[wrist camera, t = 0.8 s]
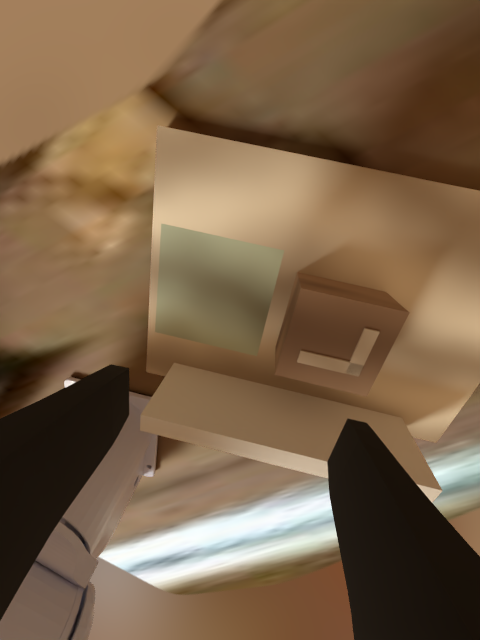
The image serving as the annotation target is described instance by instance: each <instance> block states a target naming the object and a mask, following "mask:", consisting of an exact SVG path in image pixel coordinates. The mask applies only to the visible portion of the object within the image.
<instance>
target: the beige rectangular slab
mask: <svg viewBox="0 0 480 640" xmlns="http://www.w3.org/2000/svg"><path fill="white" fill-rule="evenodd" d="M347 418H348V419H353V420H357V421H361V422H366V423H367V424H368V425H369V426H370V427H371V428H372V429H373V431H374V432H375V433H376V434H377V436H378V437H379V438H380V439H381V441H382V442H383V443H384V444H385V446H386V447H387V448H388V449H389V451H390V452H391V453H392V454H393V456H394V457H395V458H396V459H397V461H398V462H399V463H400V464H401V466H402V467H403V468H404V469H405V471H406V472H407V473H408V474H409V476H410V477H411V478H412V479H413V480H414V482H415V483H416V484H417V485H418V487H419V488H420V489H421V490H422V491H423V493H424V494H425V495H426V496H427V497H428V499H429V500H430V501H431V502H433V501H434V500H435V499H436V498H437V496H438V495H439V494H440V493H441V492H442V489H441V487H440V486H439V484H438V482H437V480H436V478H435V477H434V475H433V473H432V471H431V469H430V468H429V466H428V464H427V462H426V460H425V459H424V457H423V455H422V453H421V451H420V450H419V448H418V446H417V444H416V442H415V441H414V439H413V437H412V435H411V433H410V432H409V430H408V428H407V426H406V424H405V423H404V421H403V419H402V418H401V417H396V416H392V415H388V414H384V413H380V412H376V411H372V410H368V409H363V408H359V407H355V406H351V405H347V404H343V403H339V402H335V401H330V400H326V399H322V398H318V397H314V396H310V395H306V394H301V393H297V392H293V391H289V390H285V389H281V388H277V387H273V386H268V385H264V384H260V383H256V382H252V381H248V380H244V379H239V378H235V377H231V376H227V375H223V374H219V373H215V372H211V371H206V370H202V369H198V368H194V367H190V366H186V365H182V364H178V363H174V364H173V365H172V367H171V368H170V370H169V371H168V373H167V374H166V376H165V378H164V379H163V381H162V382H161V384H160V385H159V387H158V388H157V390H156V392H155V393H154V395H153V396H152V398H151V399H150V401H149V402H148V404H147V405H146V407H145V409H144V410H143V412H142V413H141V417H140V431H144V432H148V433H152V434H156V435H160V436H163V437H167V438H171V439H175V440H179V441H183V442H187V443H191V444H195V445H199V446H203V447H207V448H211V449H215V450H218V451H222V452H226V453H230V454H234V455H238V456H242V457H246V458H250V459H254V460H258V461H262V462H266V463H269V464H273V465H277V466H281V467H285V468H289V469H293V470H297V471H301V472H305V473H309V474H313V475H317V476H320V477H324V478H328V465H327V461H328V459H329V457H330V455H331V453H332V450H333V448H334V446H335V444H336V442H337V440H338V438H339V435H340V433H341V431H342V429H343V427H344V425H345V422H346V420H347Z"/></svg>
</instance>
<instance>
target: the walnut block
mask: <svg viewBox="0 0 480 640" xmlns="http://www.w3.org/2000/svg"><path fill="white" fill-rule="evenodd" d="M409 313H410V312H408V311H407V310H406V309H405V308H404V307H403V306H402V305H400V304H399V303H398V302H397V301H396V300H395V299H394V298H392V297H391V296H390V295H389V294H388V293H387V292H385V291H380V290H376V289H371V288H367V287H362V286H358V285H353V284H349V283H344V282H340V281H335V280H331V279H326V278H322V277H317V276H313V275H308V274H304V273H299V272H297V275H296V278H295V281H294V285H293V288H292V292H291V295H290V299H289V302H288V306H287V309H286V312H285V316H284V319H283V323H282V326H281V330H280V333H279V337H278V340H277V344H276V348H275V375H278V376H282V377H286V378H291V379H295V380H299V381H303V382H307V383H311V384H316V385H320V386H324V387H328V388H332V389H336V390H341V391H345V392H349V393H353V394H357V395H361V396H366V397H367V395H368V393H369V391H370V389H371V387H372V385H373V383H374V381H375V379H376V377H377V376H378V374H379V372H380V370H381V368H382V366H383V364H384V362H385V360H386V358H387V356H388V354H389V352H390V350H391V348H392V346H393V344H394V342H395V340H396V338H397V337H398V335H399V333H400V331H401V329H402V327H403V325H404V323H405V321H406V319H407V317H408V315H409Z"/></svg>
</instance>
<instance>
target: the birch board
mask: <svg viewBox="0 0 480 640" xmlns="http://www.w3.org/2000/svg"><path fill="white" fill-rule="evenodd" d="M297 272H299V273H304V274H308V275H313V276H317V277H322V278H326V279H331V280H335V281H340V282H344V283H349V284H353V285H358V286H362V287H367V288H371V289H376V290H380V291H385V292H387V293H388V294H389V295H390V296H391V297H392V298H394V299H395V300H396V301H397V302H398V303H399V304H400V305H402V306H403V307H404V308H405V309H406V310H407V311H408V312H410V313H409V315H408V317H407V319H406V321H405V323H404V325H403V327H402V329H401V331H400V333H399V335H398V337H397V338H396V340H395V342H394V344H393V346H392V348H391V350H390V352H389V354H388V356H387V358H386V360H385V362H384V364H383V366H382V368H381V370H380V372H379V374H378V376H377V377H376V379H375V381H374V383H373V385H372V387H371V389H370V391H369V393H368V395H367V397H366V396H361V395H357V394H353V393H349V392H345V391H341V390H336V389H332V388H328V387H324V386H320V385H316V384H311V383H307V382H303V381H299V380H295V379H291V378H286V377H282V376H278V375H275V348H276V344H277V340H278V337H279V333H280V330H281V326H282V323H283V319H284V316H285V312H286V309H287V306H288V302H289V299H290V295H291V292H292V288H293V285H294V281H295V278H296V275H297ZM174 363H178V364H182V365H186V366H190V367H194V368H198V369H202V370H206V371H211V372H215V373H219V374H223V375H227V376H231V377H235V378H239V379H244V380H248V381H252V382H256V383H260V384H264V385H268V386H273V387H277V388H281V389H285V390H289V391H293V392H297V393H301V394H306V395H310V396H314V397H318V398H322V399H326V400H330V401H335V402H339V403H343V404H347V405H351V406H355V407H359V408H363V409H368V410H372V411H376V412H380V413H384V414H388V415H392V416H396V417H401V418H402V419H403V421H404V423H405V424H406V426H407V428H408V430H409V432H410V433H411V435H412V437H414V438H418V439H422V440H426V441H430V442H434V443H436V442H437V441H438V440H439V438H440V437H441V435H442V434H443V433H444V431H445V430H446V429H447V427H448V426H449V425H450V423H451V422H452V420H453V419H454V418H455V416H456V415H457V414H458V412H459V411H460V409H461V408H462V407H463V405H464V404H465V403H466V401H467V400H468V399H469V397H470V396H471V394H472V393H473V392H474V390H475V389H476V388H477V386H478V385H479V383H480V191H478V190H473V189H468V188H463V187H458V186H454V185H449V184H444V183H439V182H434V181H429V180H424V179H419V178H414V177H409V176H404V175H399V174H394V173H390V172H385V171H380V170H375V169H370V168H365V167H360V166H355V165H350V164H345V163H340V162H335V161H331V160H326V159H321V158H316V157H311V156H306V155H301V154H296V153H291V152H286V151H281V150H276V149H272V148H267V147H262V146H257V145H252V144H247V143H242V142H237V141H232V140H227V139H222V138H217V137H212V136H208V135H203V134H198V133H193V132H188V131H183V130H178V129H173V128H168V127H163V126H158V125H157V138H156V161H155V183H154V206H153V228H152V250H151V273H150V295H149V318H148V340H147V363H146V372H148V373H152V374H157V375H161V376H166V374H167V373H168V371H169V370H170V368H171V367H172V365H173V364H174Z"/></svg>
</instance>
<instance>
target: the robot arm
mask: <svg viewBox="0 0 480 640" xmlns="http://www.w3.org/2000/svg"><path fill="white" fill-rule="evenodd" d="M64 385H65V388H64V389H62V390H60V391H58V392H56V393H54V394H52V395H50V396H48V397H46V398H44V399H42V400H40V401H38V402H35V403H33V404H31V405H29V406H27V407H25V408H22V409H20V410H18V411H16V412H14V413H12V414H10V415H7V416H5V417H3V418H1V419H0V640H88V637H89V633H90V630H91V626H92V622H93V616H94V604H95V588H94V585H93V584H92V583H91V582H90V579H91V576H92V574H93V572H94V570H95V568H96V566H97V564H98V560H96V558H97V557H98V556H99V555H100V554H101V553H102V552H103V550H104V549H105V548H106V546H107V545H108V543H109V541H110V539H111V537H112V535H113V533H114V531H115V529H116V527H117V525H118V523H119V521H120V519H121V517H122V515H123V513H124V511H125V509H126V507H127V505H128V503H129V501H130V499H131V497H132V495H133V493H134V491H135V489H136V487H137V485H138V483H139V481H140V479H141V477H142V475H144V476H148V477H152V476H154V473H155V469H156V456H157V443H158V435H156V434H152V433H148V432H144V431H140V417H141V413H142V412H143V410H144V409H145V407H146V405H147V404H148V402H149V401H150V399H151V398H152V397H149V396H145V395H141V394H137V393H133V392H129V368H125V367H120V366H116V365H109V366H107V367H105V368H103V369H101V370H99V371H97V372H95V373H93V374H91V375H89V376H87V377H85V378H83V379H77V378H73V377H69V378H67V379H66V380H65V381H64ZM327 465H328V481H329V492H330V500H331V506H332V511H333V516H334V522H335V527H336V532H337V537H338V543H339V548H340V553H341V558H342V563H343V569H344V574H345V579H346V584H347V589H348V596H349V602H350V608H351V614H352V624H353V632H354V640H480V556H479V555H478V554H477V553H476V552H475V551H474V550H473V549H472V548H471V547H470V546H469V544H468V543H467V542H466V541H465V540H464V539H463V538H462V536H461V535H460V534H459V533H458V532H457V531H456V530H455V529H454V527H453V526H452V525H451V524H450V523H449V522H448V521H447V520H446V518H445V517H444V516H443V515H442V514H441V513H440V512H439V510H438V509H437V508H436V507H435V506H434V504H433V503H432V502H431V501H430V500H429V499H428V497H427V496H426V495H425V494H424V493H423V491H422V490H421V489H420V488H419V487H418V485H417V484H416V483H415V482H414V480H413V479H412V478H411V477H410V476H409V474H408V473H407V472H406V471H405V469H404V468H403V467H402V466H401V464H400V463H399V462H398V461H397V459H396V458H395V457H394V456H393V454H392V453H391V452H390V451H389V449H388V448H387V447H386V446H385V444H384V443H383V442H382V441H381V439H380V438H379V437H378V436H377V434H376V433H375V432H374V431H373V429H372V428H371V427H370V426H369V425H368V424H367V423H366V422H361V421H357V420H353V419H348V418H347V420H346V422H345V425H344V427H343V429H342V431H341V433H340V435H339V438H338V440H337V442H336V444H335V446H334V448H333V450H332V453H331V455H330V457H329V459H328V461H327Z"/></svg>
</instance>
